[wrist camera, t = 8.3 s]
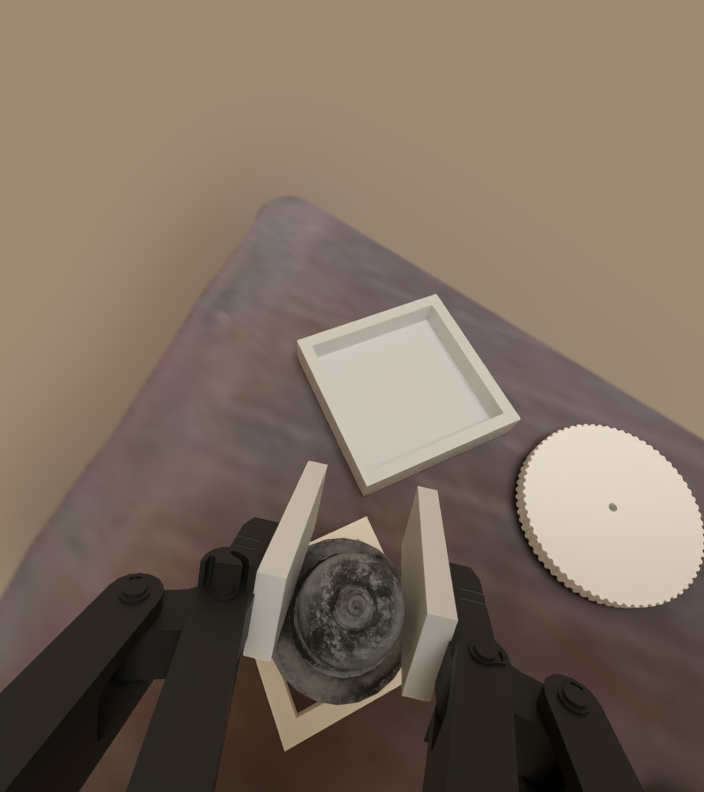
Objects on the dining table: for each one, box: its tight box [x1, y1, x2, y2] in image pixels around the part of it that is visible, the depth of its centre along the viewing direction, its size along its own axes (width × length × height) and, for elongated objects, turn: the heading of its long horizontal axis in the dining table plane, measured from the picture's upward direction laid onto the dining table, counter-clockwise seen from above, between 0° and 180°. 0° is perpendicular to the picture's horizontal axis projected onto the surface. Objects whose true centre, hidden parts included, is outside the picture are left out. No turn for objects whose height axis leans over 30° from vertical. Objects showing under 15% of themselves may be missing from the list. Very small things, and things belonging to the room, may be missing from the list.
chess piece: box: [272, 538, 405, 705], centre depth 15 cm, size 6×6×12 cm
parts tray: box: [297, 294, 520, 497], centre depth 39 cm, size 14×14×3 cm
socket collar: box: [255, 516, 402, 751], centre depth 31 cm, size 10×10×2 cm
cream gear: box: [516, 424, 704, 608], centre depth 36 cm, size 14×14×2 cm
